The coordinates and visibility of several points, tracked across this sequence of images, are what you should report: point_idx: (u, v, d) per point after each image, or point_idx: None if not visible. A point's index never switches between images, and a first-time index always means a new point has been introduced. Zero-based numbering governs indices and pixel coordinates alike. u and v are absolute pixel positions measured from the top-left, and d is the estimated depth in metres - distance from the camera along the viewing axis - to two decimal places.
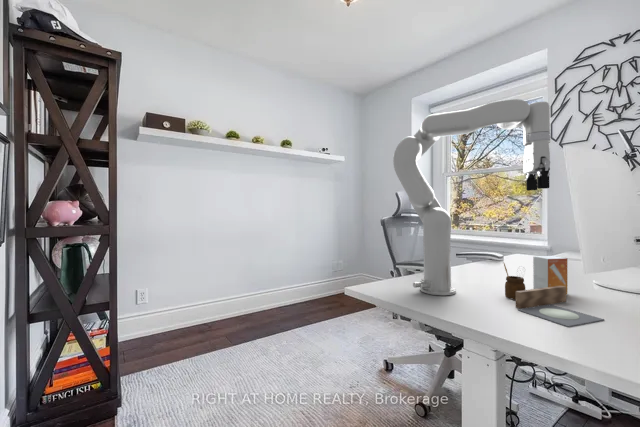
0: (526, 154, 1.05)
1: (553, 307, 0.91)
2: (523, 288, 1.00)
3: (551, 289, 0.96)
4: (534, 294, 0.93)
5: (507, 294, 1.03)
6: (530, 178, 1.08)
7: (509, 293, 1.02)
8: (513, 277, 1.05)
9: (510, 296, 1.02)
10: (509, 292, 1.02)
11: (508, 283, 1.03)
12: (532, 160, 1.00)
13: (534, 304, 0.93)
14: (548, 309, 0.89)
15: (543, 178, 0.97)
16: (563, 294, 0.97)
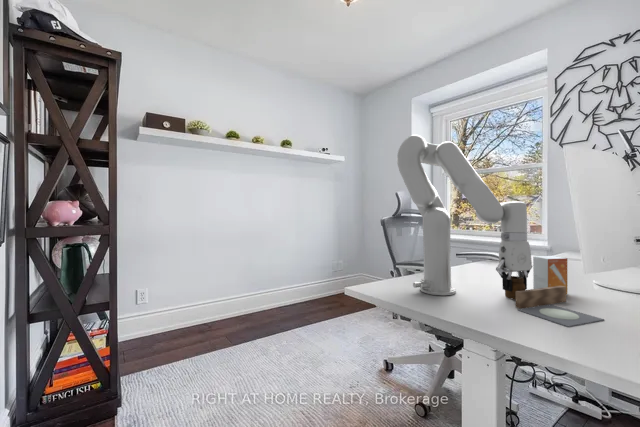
0: (519, 252, 1.00)
1: (553, 307, 0.91)
2: (523, 288, 1.00)
3: (551, 289, 0.96)
4: (534, 294, 0.93)
5: (507, 294, 1.03)
6: None
7: (509, 293, 1.02)
8: (513, 277, 1.05)
9: (510, 296, 1.02)
10: (509, 292, 1.02)
11: None
12: (530, 259, 1.02)
13: (534, 304, 0.93)
14: (548, 309, 0.89)
15: None
16: (563, 294, 0.97)
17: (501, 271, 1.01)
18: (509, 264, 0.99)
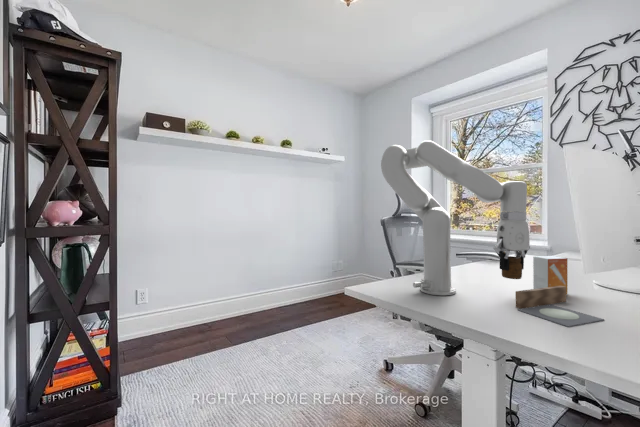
0: (518, 231, 1.00)
1: (553, 307, 0.91)
2: (520, 267, 1.01)
3: (551, 289, 0.96)
4: (534, 294, 0.93)
5: (504, 273, 1.03)
6: None
7: (506, 272, 1.02)
8: (510, 257, 1.05)
9: (506, 275, 1.02)
10: (506, 271, 1.02)
11: None
12: (528, 239, 1.02)
13: (534, 304, 0.93)
14: (548, 309, 0.89)
15: None
16: (563, 294, 0.97)
17: (499, 249, 1.01)
18: (507, 243, 1.00)
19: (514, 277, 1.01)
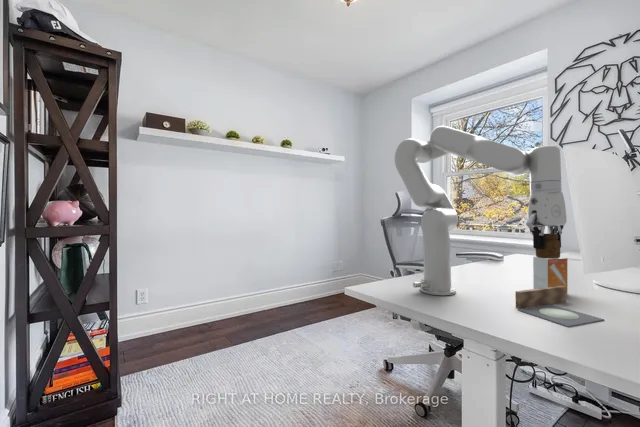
0: (553, 203, 0.87)
1: (553, 307, 0.91)
2: (558, 245, 0.87)
3: (551, 289, 0.96)
4: (534, 294, 0.93)
5: (539, 253, 0.89)
6: None
7: (541, 252, 0.88)
8: (544, 235, 0.92)
9: (543, 255, 0.88)
10: (542, 250, 0.88)
11: None
12: (564, 212, 0.88)
13: (534, 304, 0.93)
14: (548, 309, 0.89)
15: None
16: (563, 294, 0.97)
17: (533, 225, 0.87)
18: (542, 217, 0.86)
19: (552, 256, 0.87)
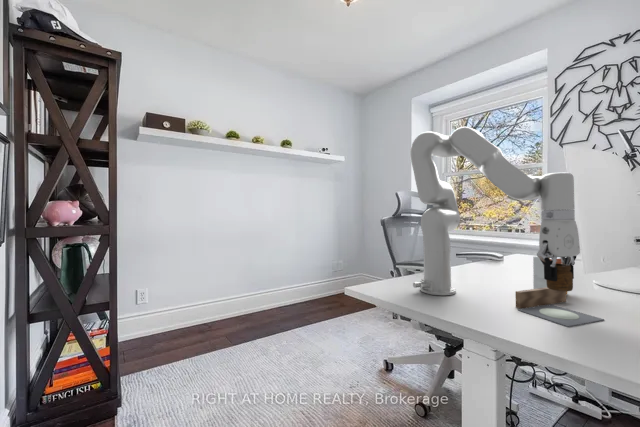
0: (566, 233, 0.83)
1: (553, 307, 0.91)
2: (570, 277, 0.83)
3: (551, 289, 0.96)
4: (534, 294, 0.93)
5: (550, 285, 0.85)
6: None
7: (553, 283, 0.84)
8: (556, 264, 0.87)
9: (554, 287, 0.84)
10: (553, 282, 0.84)
11: None
12: (577, 242, 0.84)
13: (534, 304, 0.93)
14: (548, 309, 0.89)
15: None
16: (563, 294, 0.97)
17: (544, 256, 0.83)
18: (554, 248, 0.82)
19: (564, 289, 0.83)
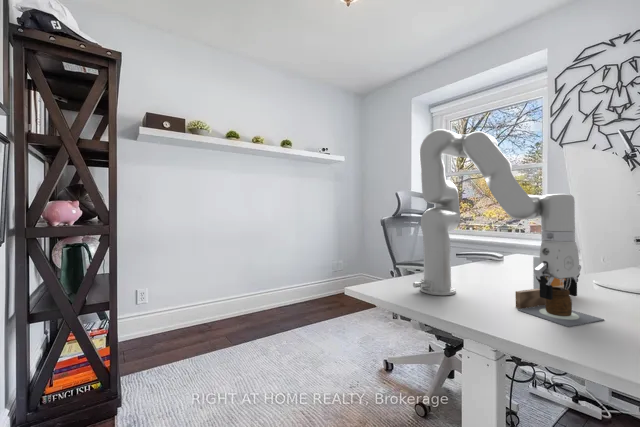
0: (566, 255, 0.83)
1: None
2: (569, 302, 0.83)
3: None
4: (534, 294, 0.93)
5: (549, 309, 0.85)
6: None
7: (552, 308, 0.85)
8: (555, 288, 0.88)
9: (553, 311, 0.84)
10: (552, 306, 0.85)
11: None
12: (577, 264, 0.84)
13: (534, 304, 0.93)
14: None
15: None
16: None
17: (541, 274, 0.83)
18: (554, 269, 0.82)
19: (563, 314, 0.83)
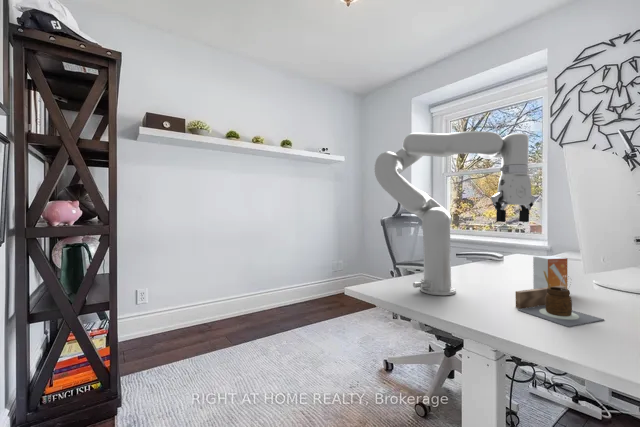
0: (519, 184, 0.98)
1: None
2: (569, 302, 0.83)
3: None
4: (534, 294, 0.93)
5: (549, 309, 0.85)
6: None
7: (552, 308, 0.85)
8: (555, 288, 0.88)
9: (553, 312, 0.84)
10: (552, 306, 0.85)
11: (550, 296, 0.85)
12: (529, 193, 1.00)
13: (534, 304, 0.93)
14: None
15: None
16: None
17: (496, 200, 0.99)
18: (507, 196, 0.98)
19: (563, 314, 0.83)
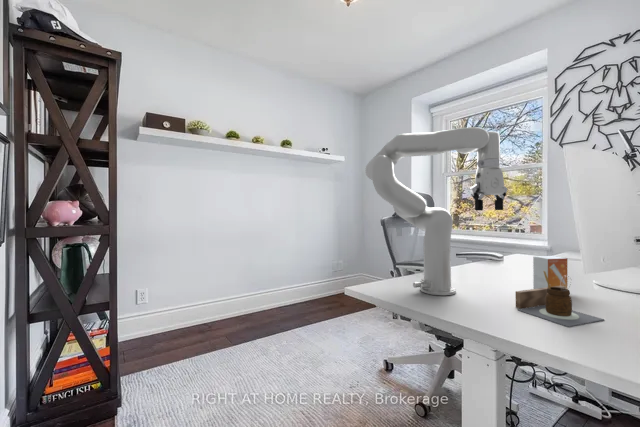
0: (493, 176, 1.11)
1: None
2: (570, 302, 0.83)
3: None
4: (534, 294, 0.93)
5: (549, 309, 0.85)
6: None
7: (552, 308, 0.85)
8: (555, 288, 0.88)
9: (553, 312, 0.84)
10: (552, 306, 0.85)
11: (550, 296, 0.85)
12: (502, 184, 1.12)
13: (534, 304, 0.93)
14: None
15: None
16: None
17: (474, 191, 1.11)
18: (483, 187, 1.10)
19: (563, 314, 0.83)
